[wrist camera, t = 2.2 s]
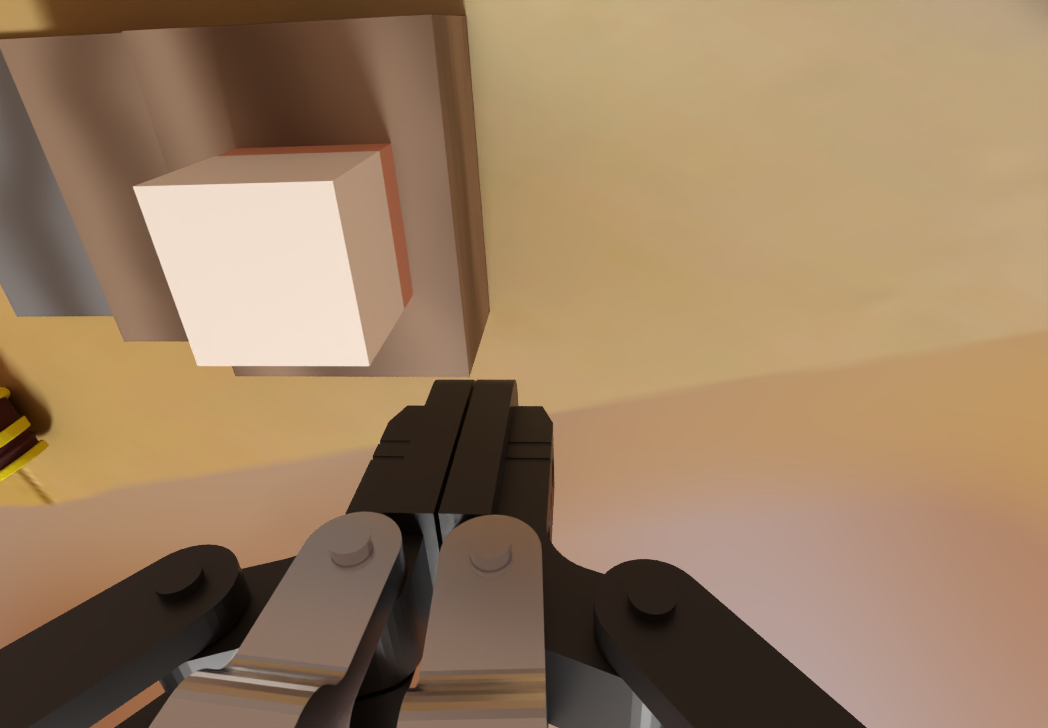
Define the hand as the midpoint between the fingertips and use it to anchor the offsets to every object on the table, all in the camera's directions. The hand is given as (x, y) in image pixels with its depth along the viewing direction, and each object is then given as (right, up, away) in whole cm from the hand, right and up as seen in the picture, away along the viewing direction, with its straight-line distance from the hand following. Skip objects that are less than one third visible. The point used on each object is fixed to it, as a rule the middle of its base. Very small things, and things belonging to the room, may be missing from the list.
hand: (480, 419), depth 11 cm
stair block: (-15, +10, +19) cm, 26 cm away
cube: (-7, +7, +12) cm, 16 cm away
